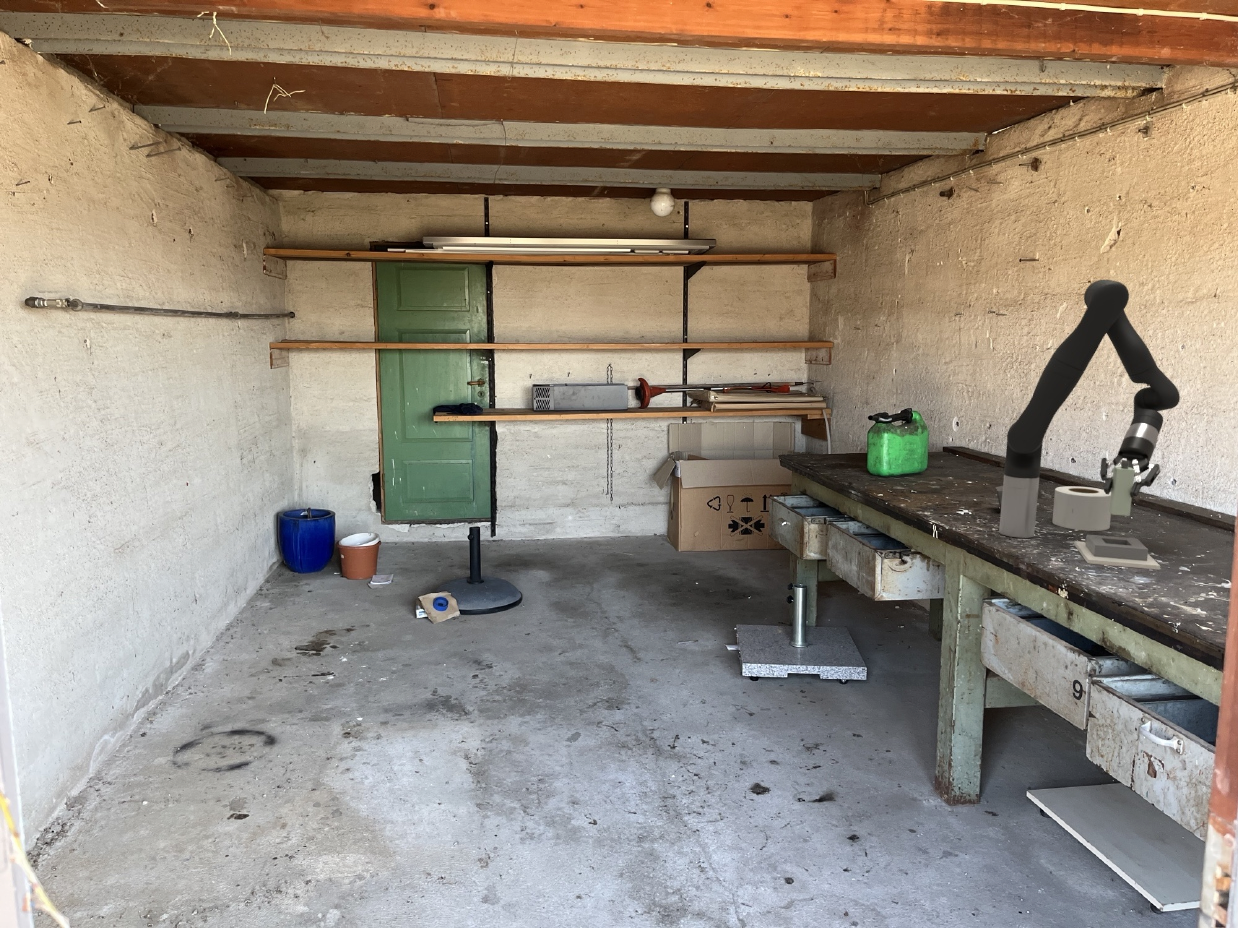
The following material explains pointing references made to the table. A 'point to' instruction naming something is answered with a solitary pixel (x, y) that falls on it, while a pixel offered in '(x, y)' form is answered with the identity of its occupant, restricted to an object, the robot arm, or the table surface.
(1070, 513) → the roll of tape
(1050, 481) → the table surface
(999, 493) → the electrical switch
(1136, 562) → the plate
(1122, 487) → the plug
